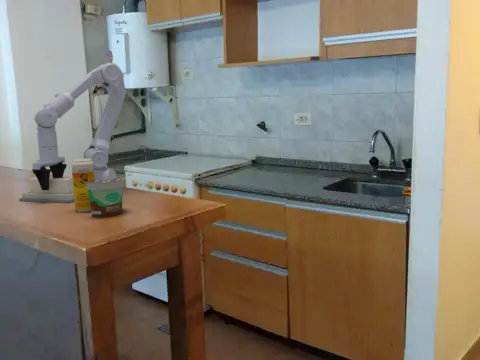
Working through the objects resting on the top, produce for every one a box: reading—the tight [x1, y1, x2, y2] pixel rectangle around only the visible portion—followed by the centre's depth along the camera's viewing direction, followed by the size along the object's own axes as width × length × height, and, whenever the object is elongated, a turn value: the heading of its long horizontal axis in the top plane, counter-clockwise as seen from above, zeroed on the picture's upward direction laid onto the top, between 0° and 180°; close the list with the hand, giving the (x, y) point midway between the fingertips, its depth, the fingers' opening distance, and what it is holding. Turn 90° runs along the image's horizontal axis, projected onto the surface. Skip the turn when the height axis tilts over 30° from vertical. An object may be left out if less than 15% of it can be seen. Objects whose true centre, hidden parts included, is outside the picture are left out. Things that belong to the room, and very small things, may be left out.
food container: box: [86, 175, 126, 218], centre depth 140 cm, size 12×6×10 cm, turn 148°
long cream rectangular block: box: [28, 176, 74, 195], centre depth 161 cm, size 14×3×6 cm, turn 77°
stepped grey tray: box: [18, 190, 75, 204], centre depth 161 cm, size 18×9×2 cm, turn 77°
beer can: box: [71, 158, 95, 213], centre depth 145 cm, size 6×6×15 cm
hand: (51, 187), depth 161 cm, fingers open, 6 cm apart
